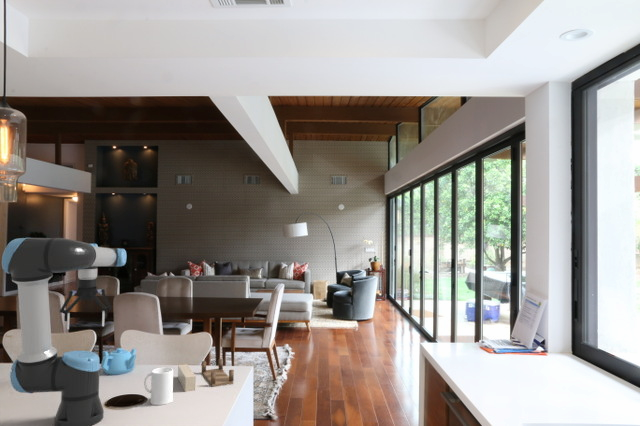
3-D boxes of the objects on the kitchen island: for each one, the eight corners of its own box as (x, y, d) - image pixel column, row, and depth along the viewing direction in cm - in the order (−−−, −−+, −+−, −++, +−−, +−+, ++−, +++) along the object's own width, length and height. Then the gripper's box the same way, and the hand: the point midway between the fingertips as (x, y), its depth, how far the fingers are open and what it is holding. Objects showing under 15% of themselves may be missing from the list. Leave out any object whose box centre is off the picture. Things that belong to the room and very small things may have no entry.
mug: (138, 403, 172) (139, 371, 173) (151, 395, 181) (152, 365, 181) (165, 406, 170) (165, 374, 170) (177, 398, 178) (178, 367, 178)
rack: (234, 383, 196) (234, 370, 196) (211, 387, 191) (211, 374, 192) (221, 370, 216) (222, 358, 216) (200, 372, 211) (201, 361, 211)
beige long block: (195, 390, 187) (195, 376, 188) (185, 392, 186) (185, 377, 186) (186, 377, 205) (187, 364, 206) (177, 378, 204) (178, 365, 204)
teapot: (102, 368, 218) (103, 346, 218) (135, 365, 223) (136, 343, 224) (100, 377, 204) (100, 353, 204) (135, 373, 209) (136, 350, 210)
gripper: (117, 276, 206) (116, 323, 205) (55, 279, 194) (53, 328, 193) (119, 278, 199) (117, 326, 198) (54, 280, 187) (52, 331, 186)
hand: (85, 327), depth 195 cm, fingers open, 13 cm apart
